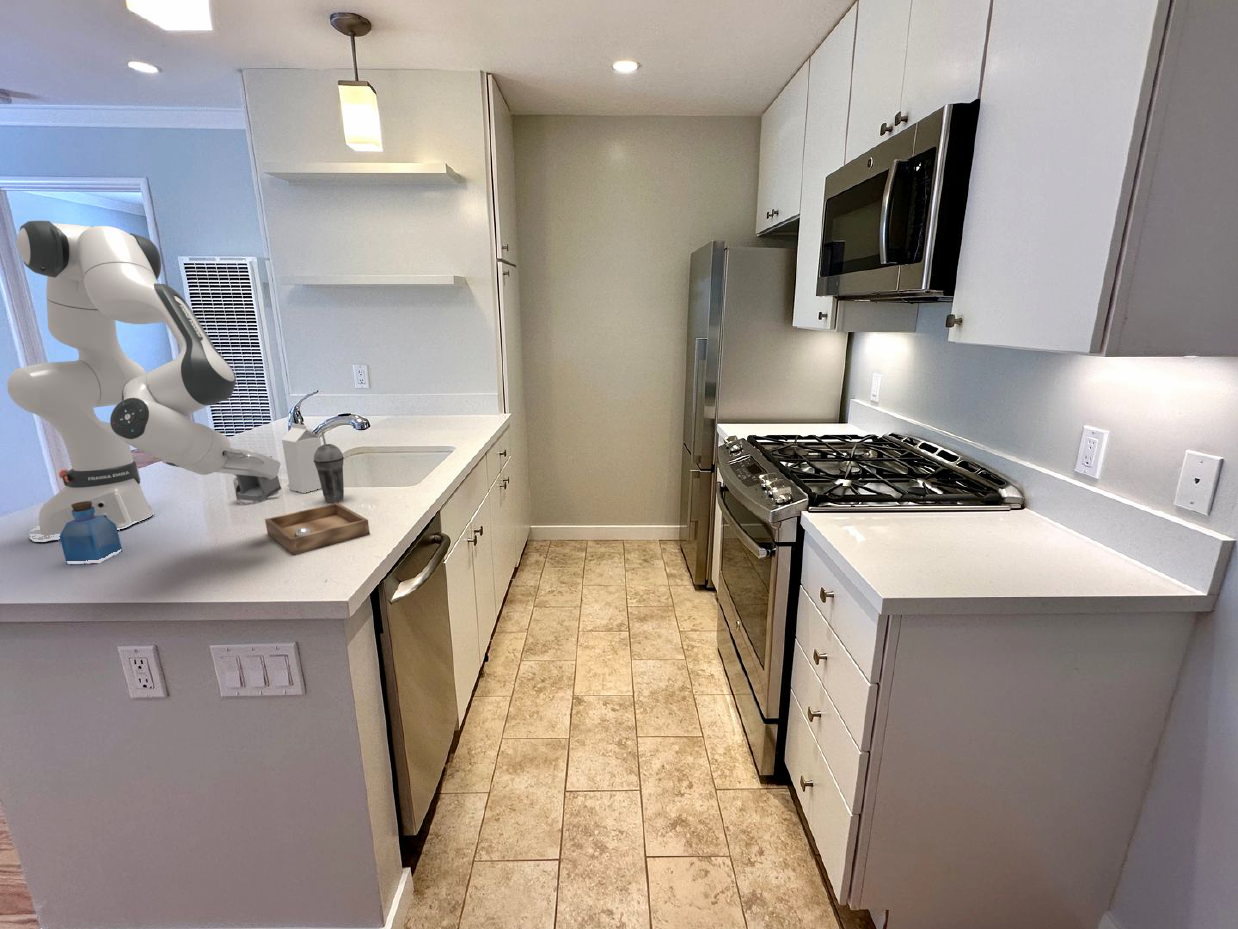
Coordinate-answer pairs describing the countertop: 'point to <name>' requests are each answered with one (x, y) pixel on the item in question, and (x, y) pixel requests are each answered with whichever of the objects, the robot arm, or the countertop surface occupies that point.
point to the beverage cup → (330, 471)
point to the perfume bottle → (88, 535)
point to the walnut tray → (317, 527)
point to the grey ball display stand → (257, 487)
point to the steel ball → (302, 531)
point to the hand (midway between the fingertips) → (256, 474)
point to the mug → (244, 502)
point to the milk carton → (301, 458)
